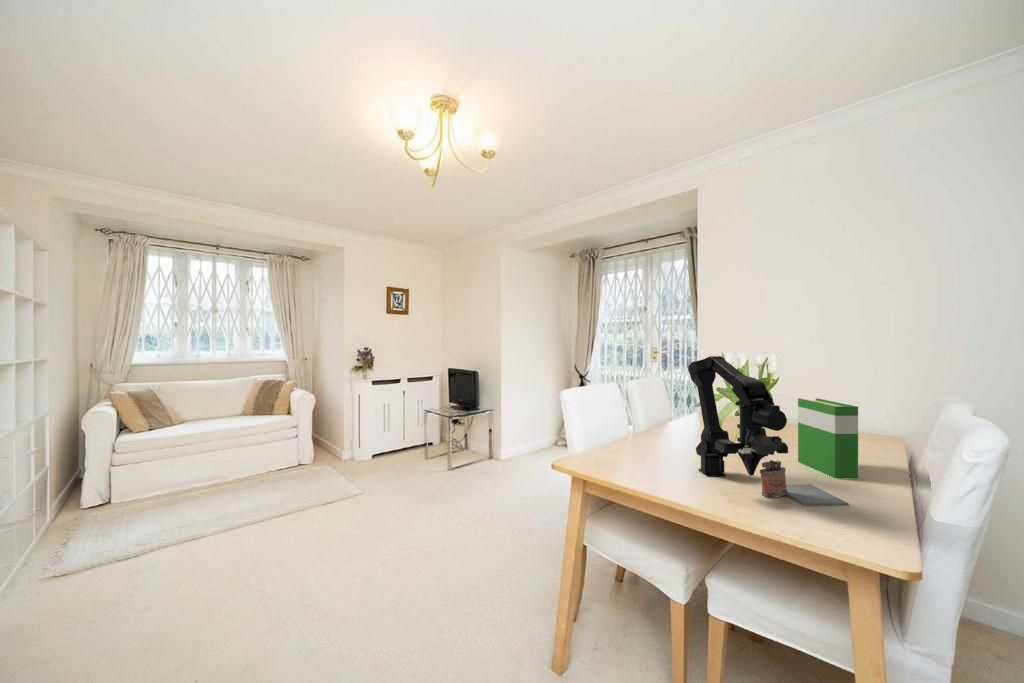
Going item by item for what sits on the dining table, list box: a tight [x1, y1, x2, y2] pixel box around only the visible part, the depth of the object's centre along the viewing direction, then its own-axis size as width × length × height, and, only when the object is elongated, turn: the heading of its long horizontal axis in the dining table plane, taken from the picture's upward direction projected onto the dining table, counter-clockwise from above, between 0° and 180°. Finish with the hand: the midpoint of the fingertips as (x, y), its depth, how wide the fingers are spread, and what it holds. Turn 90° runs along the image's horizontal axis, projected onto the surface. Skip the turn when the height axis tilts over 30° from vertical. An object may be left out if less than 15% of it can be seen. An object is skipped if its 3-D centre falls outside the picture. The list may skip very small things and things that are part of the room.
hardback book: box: [797, 397, 859, 479], centre depth 138 cm, size 18×7×24 cm, turn 178°
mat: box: [785, 483, 850, 506], centre depth 116 cm, size 12×14×1 cm
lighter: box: [759, 459, 788, 499], centre depth 116 cm, size 8×3×10 cm, turn 103°
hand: (750, 475), depth 116 cm, fingers closed
